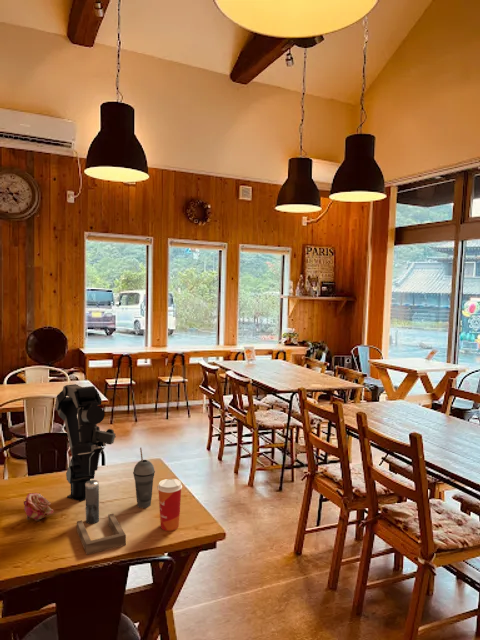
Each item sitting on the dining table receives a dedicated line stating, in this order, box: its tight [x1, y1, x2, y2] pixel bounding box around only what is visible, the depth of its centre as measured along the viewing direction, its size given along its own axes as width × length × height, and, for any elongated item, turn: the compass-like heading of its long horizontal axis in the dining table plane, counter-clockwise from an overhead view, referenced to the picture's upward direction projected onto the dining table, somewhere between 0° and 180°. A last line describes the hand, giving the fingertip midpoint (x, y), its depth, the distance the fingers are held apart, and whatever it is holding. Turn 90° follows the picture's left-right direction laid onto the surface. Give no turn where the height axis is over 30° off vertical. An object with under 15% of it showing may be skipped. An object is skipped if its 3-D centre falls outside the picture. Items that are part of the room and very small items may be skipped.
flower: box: [23, 492, 54, 522], centre depth 153 cm, size 10×9×8 cm
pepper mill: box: [85, 479, 100, 525], centre depth 151 cm, size 4×4×12 cm
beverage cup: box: [132, 447, 156, 509], centre depth 162 cm, size 7×7×20 cm
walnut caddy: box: [76, 513, 127, 556], centre depth 142 cm, size 14×11×3 cm
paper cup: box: [157, 478, 183, 532], centre depth 148 cm, size 8×8×14 cm
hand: (91, 472), depth 156 cm, fingers open, 9 cm apart
